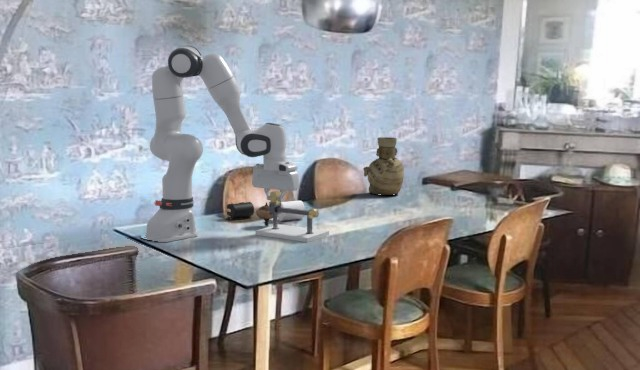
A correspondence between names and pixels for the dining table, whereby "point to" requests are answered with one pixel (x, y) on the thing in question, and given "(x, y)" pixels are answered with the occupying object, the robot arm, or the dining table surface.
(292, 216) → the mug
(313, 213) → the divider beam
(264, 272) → the dining table surface
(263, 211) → the brown spinning top
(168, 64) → the robot arm
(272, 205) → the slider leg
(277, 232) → the hole board
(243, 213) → the end cap
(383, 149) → the ceramic vessel
